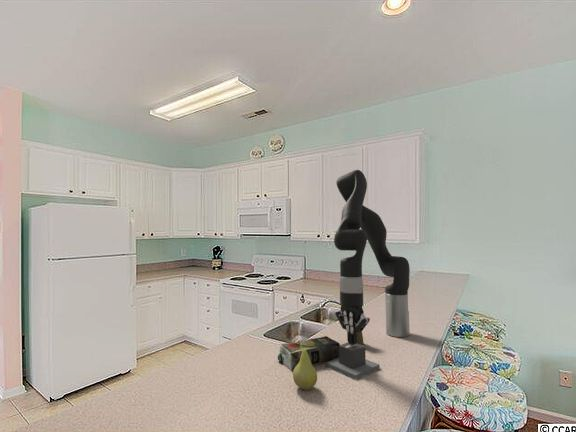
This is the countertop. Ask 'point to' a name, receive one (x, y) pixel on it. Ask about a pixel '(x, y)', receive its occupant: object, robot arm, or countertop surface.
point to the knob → (352, 355)
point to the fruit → (304, 372)
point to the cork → (360, 337)
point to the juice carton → (309, 351)
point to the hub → (351, 372)
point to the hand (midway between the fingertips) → (352, 344)
